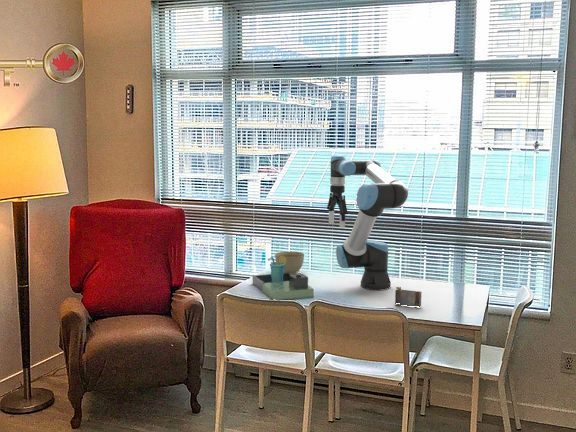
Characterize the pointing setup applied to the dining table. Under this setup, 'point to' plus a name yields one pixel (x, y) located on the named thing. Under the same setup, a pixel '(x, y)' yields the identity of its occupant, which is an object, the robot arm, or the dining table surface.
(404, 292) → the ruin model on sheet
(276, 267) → the cup
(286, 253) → the planter bowl
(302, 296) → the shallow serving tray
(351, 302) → the dining table surface
